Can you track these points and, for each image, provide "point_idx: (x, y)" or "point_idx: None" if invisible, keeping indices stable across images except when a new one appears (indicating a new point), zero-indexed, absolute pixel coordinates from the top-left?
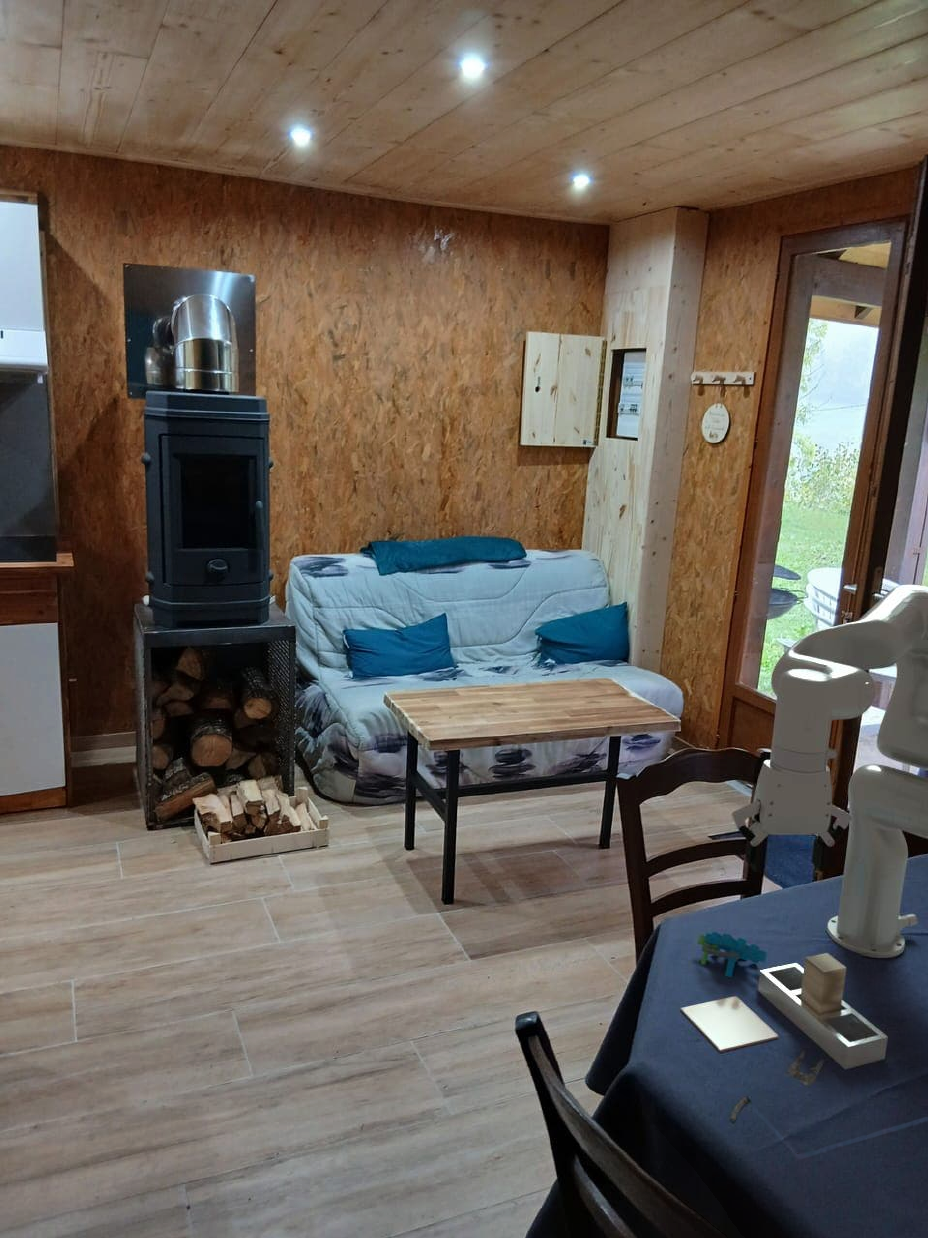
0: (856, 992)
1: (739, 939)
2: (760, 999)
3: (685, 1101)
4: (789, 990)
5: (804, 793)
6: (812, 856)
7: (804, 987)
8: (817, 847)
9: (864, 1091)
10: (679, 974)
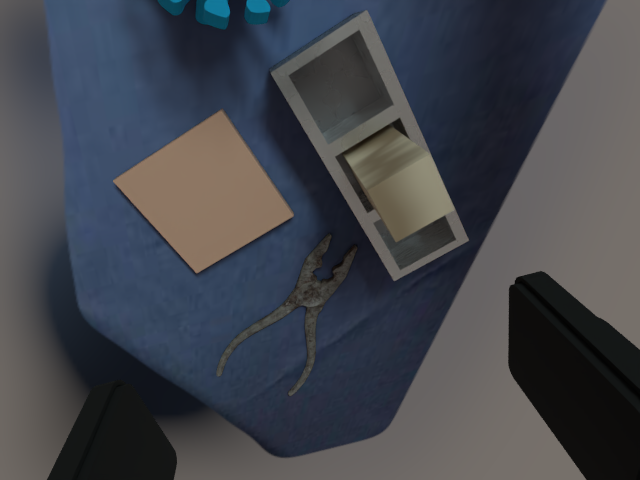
0: (484, 8)
1: (208, 14)
2: (274, 89)
3: (157, 361)
4: (339, 51)
5: None
6: (534, 310)
7: (355, 174)
8: (600, 433)
9: (397, 286)
10: (86, 25)
